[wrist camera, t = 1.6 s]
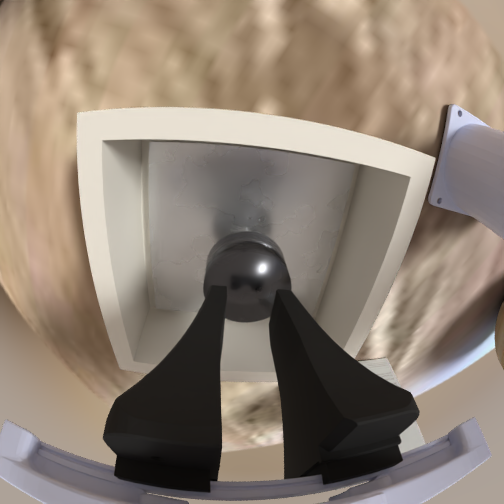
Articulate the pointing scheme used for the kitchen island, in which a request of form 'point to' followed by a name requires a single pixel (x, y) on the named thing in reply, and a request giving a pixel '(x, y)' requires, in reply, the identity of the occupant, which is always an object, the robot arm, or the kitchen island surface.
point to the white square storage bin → (255, 135)
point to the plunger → (241, 224)
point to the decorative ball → (500, 335)
